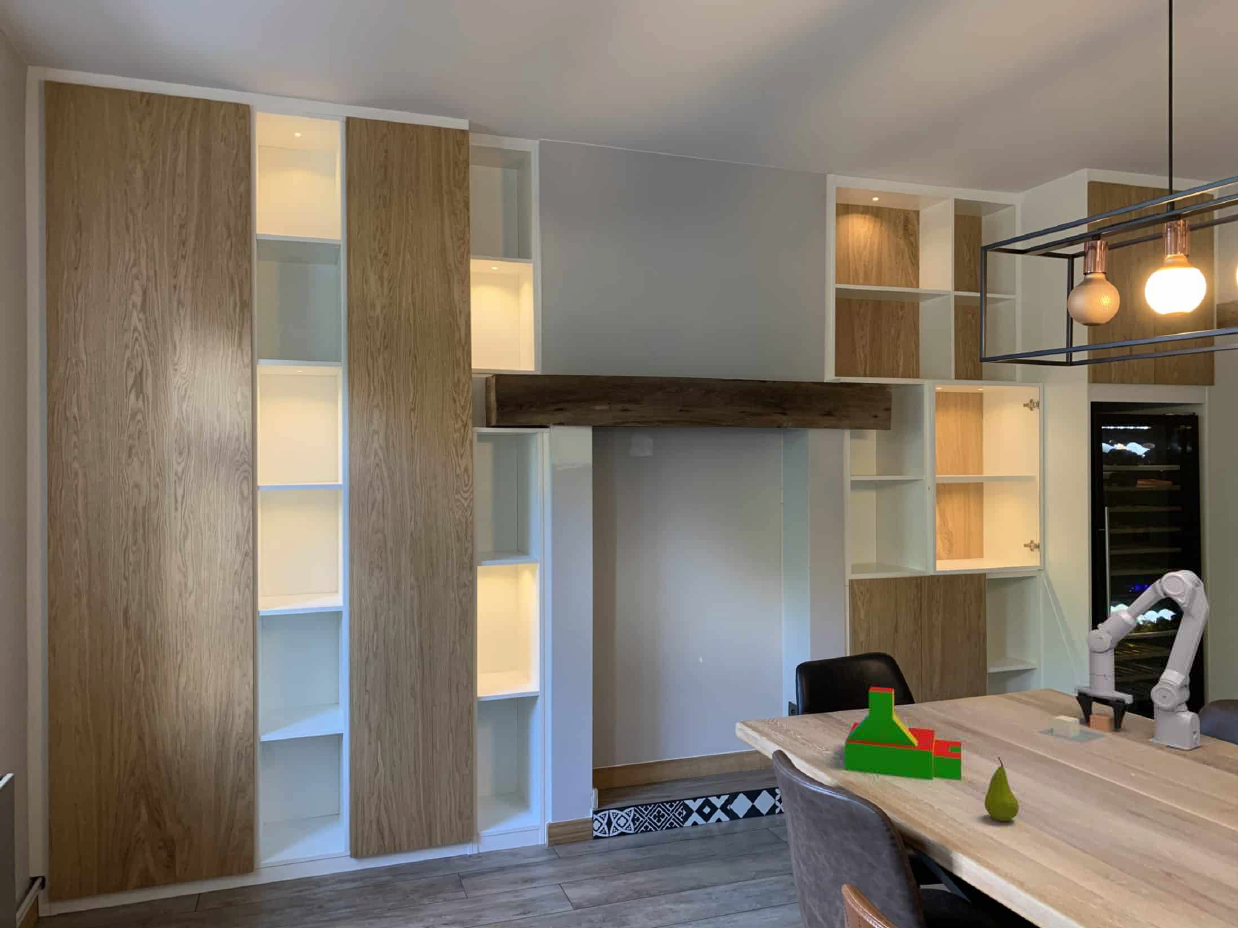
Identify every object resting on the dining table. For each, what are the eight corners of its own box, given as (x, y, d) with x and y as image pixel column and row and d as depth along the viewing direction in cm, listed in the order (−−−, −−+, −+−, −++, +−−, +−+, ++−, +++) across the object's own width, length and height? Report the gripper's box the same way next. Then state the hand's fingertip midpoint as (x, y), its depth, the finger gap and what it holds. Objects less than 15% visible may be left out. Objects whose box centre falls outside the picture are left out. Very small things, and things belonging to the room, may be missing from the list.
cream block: (1079, 734, 231) (1079, 718, 231) (1070, 736, 228) (1070, 721, 228) (1062, 730, 234) (1062, 715, 235) (1053, 732, 232) (1053, 717, 232)
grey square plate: (1107, 737, 230) (1107, 735, 230) (1083, 744, 223) (1083, 742, 223) (1061, 727, 239) (1061, 725, 239) (1037, 733, 233) (1037, 732, 233)
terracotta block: (1115, 731, 236) (1115, 716, 236) (1107, 734, 233) (1107, 718, 233) (1098, 727, 239) (1098, 712, 240) (1090, 730, 237) (1090, 715, 237)
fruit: (1007, 828, 168) (1006, 764, 168) (977, 818, 173) (977, 756, 173) (1025, 820, 172) (1024, 758, 172) (995, 811, 177) (995, 751, 177)
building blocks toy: (961, 784, 194) (960, 700, 194) (845, 770, 203) (844, 691, 203) (961, 759, 211) (960, 683, 212) (854, 748, 220) (854, 675, 221)
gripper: (1137, 677, 233) (1138, 728, 233) (1082, 667, 245) (1083, 717, 245) (1124, 680, 229) (1125, 732, 229) (1069, 670, 241) (1070, 720, 241)
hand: (1102, 725), depth 236 cm, fingers open, 7 cm apart
